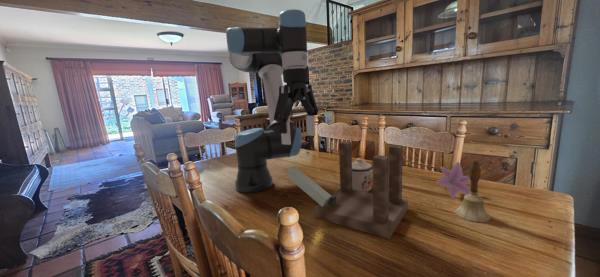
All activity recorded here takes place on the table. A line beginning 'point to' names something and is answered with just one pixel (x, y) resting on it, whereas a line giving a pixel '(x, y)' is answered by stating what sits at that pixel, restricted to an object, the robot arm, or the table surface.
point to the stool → (368, 195)
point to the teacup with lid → (361, 175)
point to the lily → (454, 180)
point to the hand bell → (473, 199)
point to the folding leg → (308, 186)
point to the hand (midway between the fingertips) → (299, 139)
